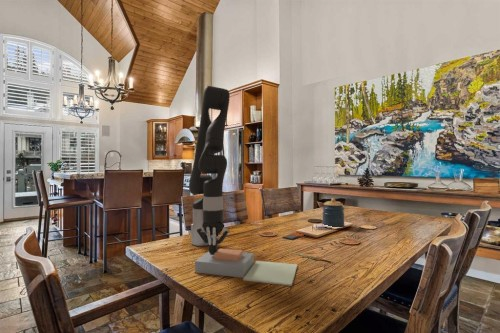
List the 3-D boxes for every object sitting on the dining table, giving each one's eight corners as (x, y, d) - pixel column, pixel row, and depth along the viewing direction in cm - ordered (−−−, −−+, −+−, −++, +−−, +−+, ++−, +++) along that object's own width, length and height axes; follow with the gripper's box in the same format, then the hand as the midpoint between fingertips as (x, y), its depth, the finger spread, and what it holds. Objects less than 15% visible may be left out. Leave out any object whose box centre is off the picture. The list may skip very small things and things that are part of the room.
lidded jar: (323, 229, 165) (323, 199, 165) (321, 224, 178) (321, 196, 178) (346, 230, 163) (346, 199, 163) (342, 225, 176) (342, 197, 175)
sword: (278, 252, 124) (278, 250, 124) (284, 250, 127) (283, 248, 127) (330, 264, 107) (330, 262, 107) (335, 262, 110) (335, 260, 110)
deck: (195, 272, 99) (194, 261, 99) (210, 259, 113) (210, 249, 113) (243, 277, 95) (243, 266, 95) (253, 263, 108) (253, 253, 108)
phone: (307, 233, 152) (292, 238, 141) (307, 235, 152) (292, 241, 141) (297, 231, 156) (281, 236, 145) (297, 233, 156) (281, 239, 145)
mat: (243, 280, 93) (243, 278, 93) (256, 261, 110) (256, 260, 110) (291, 285, 88) (291, 284, 88) (297, 265, 106) (297, 264, 106)
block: (214, 258, 102) (214, 253, 102) (220, 253, 108) (220, 248, 108) (237, 260, 100) (237, 255, 100) (242, 255, 105) (242, 250, 105)
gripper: (192, 209, 103) (192, 256, 103) (226, 210, 99) (226, 259, 99) (201, 206, 110) (201, 250, 110) (233, 207, 106) (233, 252, 107)
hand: (213, 254), depth 105 cm, fingers closed
